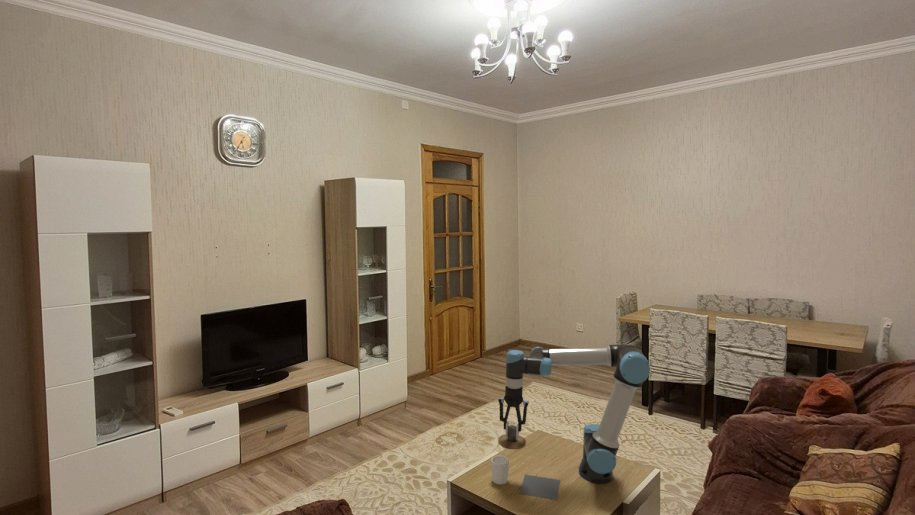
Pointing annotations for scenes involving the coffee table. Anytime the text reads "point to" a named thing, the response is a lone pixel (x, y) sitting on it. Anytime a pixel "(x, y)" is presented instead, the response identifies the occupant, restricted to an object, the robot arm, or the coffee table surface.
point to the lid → (512, 439)
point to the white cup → (500, 469)
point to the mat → (540, 487)
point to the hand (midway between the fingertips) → (512, 437)
